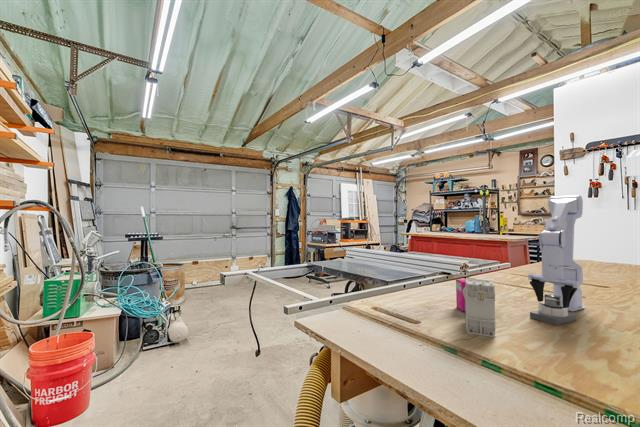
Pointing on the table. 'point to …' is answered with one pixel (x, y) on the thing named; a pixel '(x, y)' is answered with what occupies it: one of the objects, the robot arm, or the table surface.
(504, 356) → the table surface
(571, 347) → the table surface
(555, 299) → the lens
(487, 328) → the circuit breaker
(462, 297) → the supplement box
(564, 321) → the camera body
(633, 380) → the table surface
